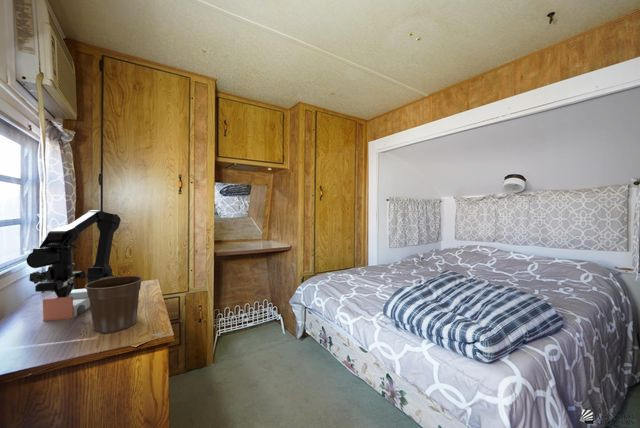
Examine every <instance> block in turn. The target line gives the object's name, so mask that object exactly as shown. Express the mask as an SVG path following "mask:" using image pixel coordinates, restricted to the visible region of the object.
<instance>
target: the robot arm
mask: <svg viewBox="0 0 640 428" xmlns="http://www.w3.org/2000/svg"><path fill="white" fill-rule="evenodd" d="M121 220H122V219H121V217H120V216H119V215H118V214H116V213H109V212H106V211H103V210H100V209H99V210H98V209H97V210H95V209H94V210H93V209H91V210H88V211H87V212H86V213H85V214H83V215H81V216H80V217H79V218H77V219H75V220H73V221H72V222H70V223H69V224H67V225H64V226H59V227H56V228H54V229H51V230H50V231H48V233H47V235H46V237H45V238H44V240H43V241H42V243H41V244H40V246H39V247H36V248H33V249H32V252H31V253H29V254H28V256H27V258H26V264H27V265H28V267H30V268H32V269H39V268H44V267H47V266H48V267H47V270H46V271H43V272H40V271H39V270H37V271H35V272H32V273H29V279H28V281H29V282H30V283H31V282H32V283H33V284H34V285H35V286H34V288H35V292H36V293H38V292H51V291H52V292H54V293H55V295H56V296H57V297H56V298H59V297H68V296H69V295H70V293H71V291H72V290H74V289H75V286H76V284H78V281H74V279H80V280H83V279H86V281H87V282H88V283H90V282H93V281H97V280H99V279H100V278H103V277H109V276H114V275H113V269H112V267H111V265H110V258H111V251H112V245H113V239H114V234H115V232H116V231H117V230H118V229H119V227H120V224H121ZM93 224H96V228H97V229H98V231H99V237H98V241H97V242H98V243H97V248H96V255H95V261H94V263H93V265H92V266H91V267H88V268H87V273H86V272H85V271H83V270H75V271H73V269H74V267H75V266H76V263H75V262H74V261H73V250H75V249H76V250H77V248H78V247H77V246H76V245H74V243H75V242H76V241H77V240H78V239H79V238H80V234H82V232H83V231H85V230H86V229H88V228H89V227H91V226H92V225H93ZM88 283H87V284H88Z"/></svg>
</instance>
